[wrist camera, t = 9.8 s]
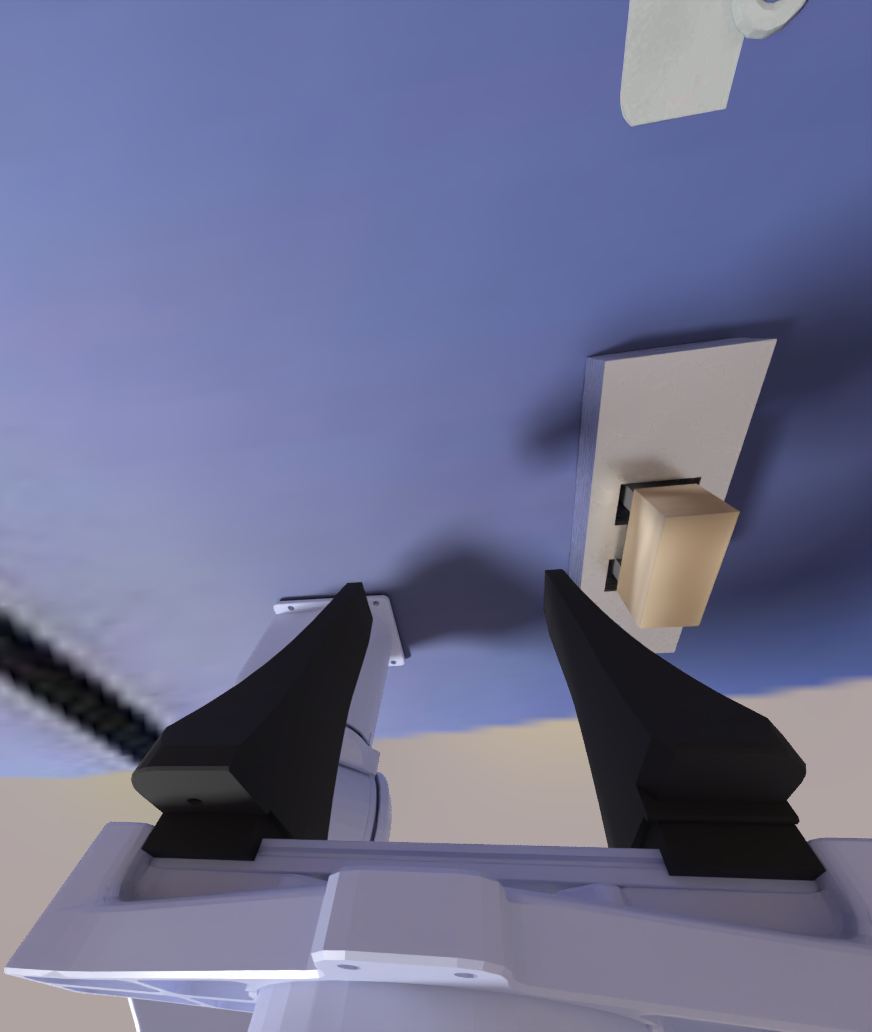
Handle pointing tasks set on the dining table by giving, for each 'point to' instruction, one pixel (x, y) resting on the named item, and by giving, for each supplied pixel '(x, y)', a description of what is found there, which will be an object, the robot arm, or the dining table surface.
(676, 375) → the grey plate with holes
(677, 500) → the clip
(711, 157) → the dining table surface
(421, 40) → the dining table surface
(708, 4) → the white tag with ring
